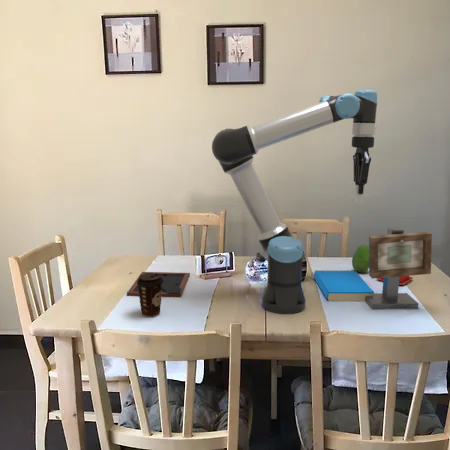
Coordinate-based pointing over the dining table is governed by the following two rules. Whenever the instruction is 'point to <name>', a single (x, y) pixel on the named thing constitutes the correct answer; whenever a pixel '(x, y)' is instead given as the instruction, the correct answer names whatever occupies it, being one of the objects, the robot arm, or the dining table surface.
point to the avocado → (361, 259)
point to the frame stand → (391, 291)
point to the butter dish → (401, 279)
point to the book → (342, 285)
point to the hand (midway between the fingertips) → (358, 202)
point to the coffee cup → (150, 294)
